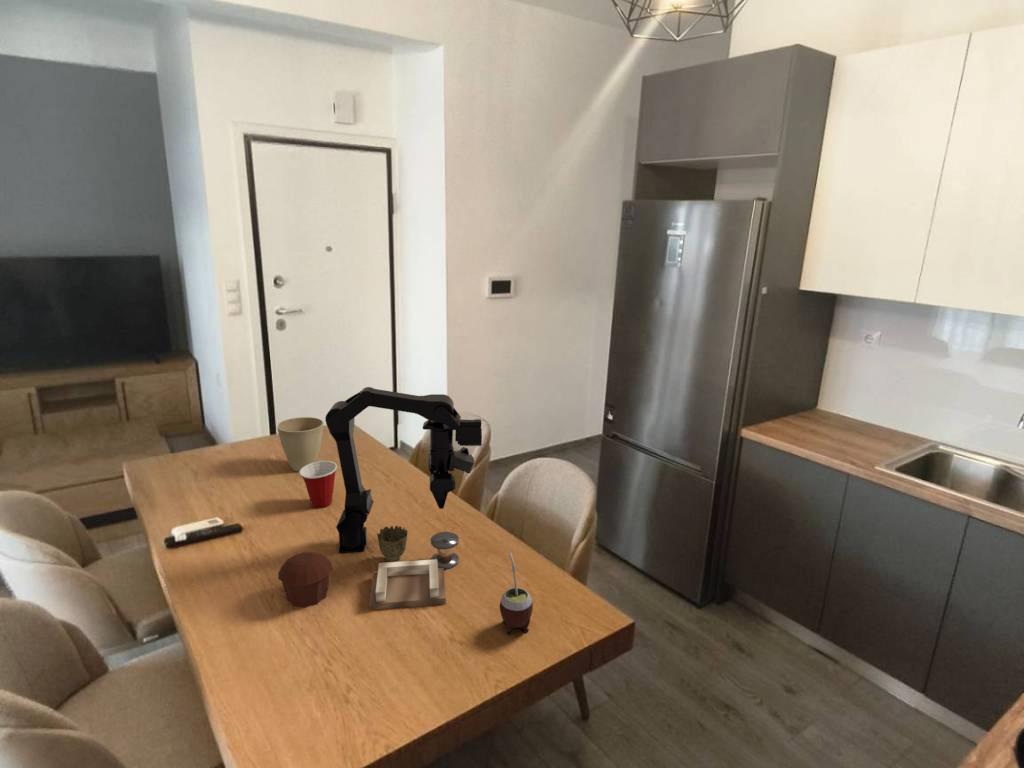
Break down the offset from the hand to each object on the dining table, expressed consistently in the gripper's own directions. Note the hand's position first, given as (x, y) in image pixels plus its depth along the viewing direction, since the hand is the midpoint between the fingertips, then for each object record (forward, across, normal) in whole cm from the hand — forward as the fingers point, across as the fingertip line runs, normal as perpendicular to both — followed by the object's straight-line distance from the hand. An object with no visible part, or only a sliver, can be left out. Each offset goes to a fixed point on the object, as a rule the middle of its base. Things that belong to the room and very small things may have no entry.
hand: (440, 499), depth 153 cm
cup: (+14, -6, +12) cm, 19 cm away
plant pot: (+15, +56, +44) cm, 73 cm away
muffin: (+14, -18, +31) cm, 39 cm away
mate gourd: (+13, -34, -15) cm, 39 cm away
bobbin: (+13, -8, -1) cm, 16 cm away
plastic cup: (+14, +28, +35) cm, 47 cm away
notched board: (+14, -19, +8) cm, 25 cm away
